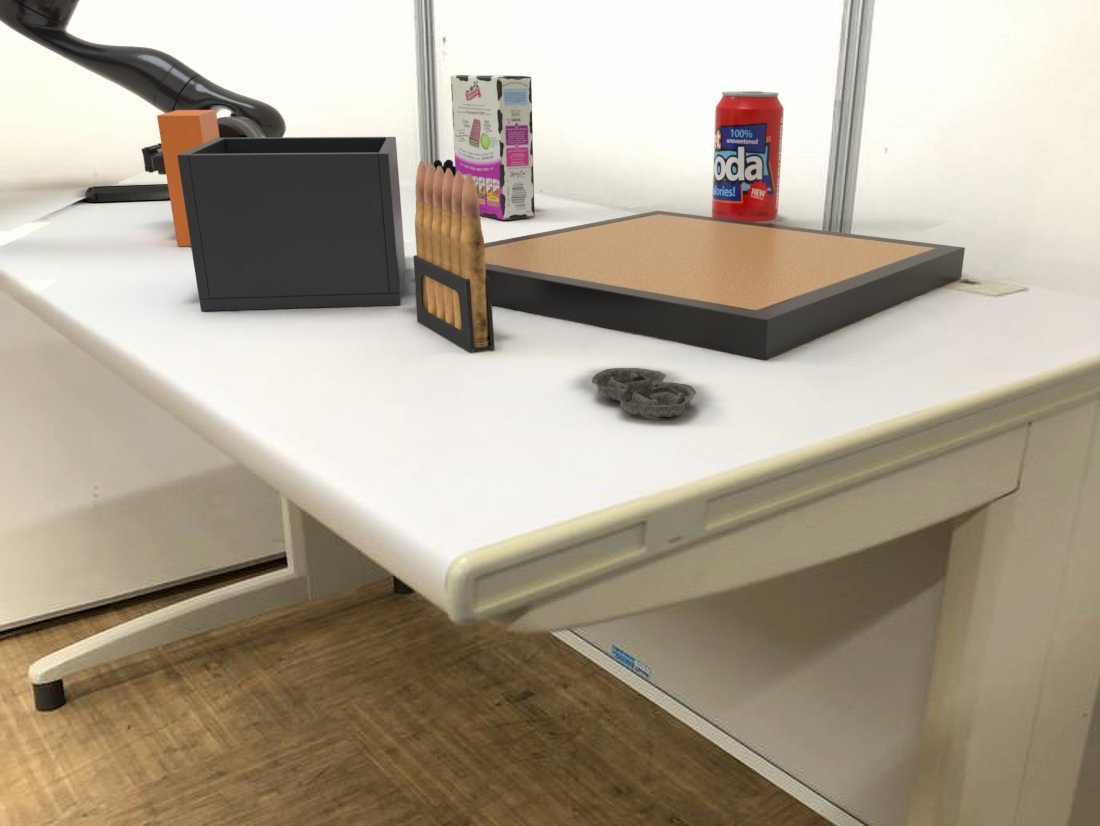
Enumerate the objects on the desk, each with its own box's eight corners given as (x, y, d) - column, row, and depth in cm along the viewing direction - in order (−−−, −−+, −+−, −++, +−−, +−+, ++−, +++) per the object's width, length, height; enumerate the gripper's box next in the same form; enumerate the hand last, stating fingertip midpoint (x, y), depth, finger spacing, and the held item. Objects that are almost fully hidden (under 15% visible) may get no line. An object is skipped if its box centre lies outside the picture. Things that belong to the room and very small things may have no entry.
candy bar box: (537, 217, 131) (533, 75, 124) (503, 221, 128) (497, 76, 121) (488, 207, 138) (482, 73, 132) (455, 210, 135) (447, 73, 129)
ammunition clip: (416, 320, 82) (404, 160, 78) (439, 318, 83) (428, 159, 78) (470, 353, 74) (461, 175, 69) (495, 349, 75) (487, 174, 70)
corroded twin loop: (644, 378, 68) (645, 362, 68) (714, 413, 62) (715, 396, 61) (575, 389, 66) (575, 373, 65) (640, 427, 59) (640, 409, 59)
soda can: (788, 223, 128) (796, 91, 122) (757, 232, 122) (764, 93, 116) (731, 217, 132) (737, 89, 126) (699, 225, 126) (703, 91, 120)
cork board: (416, 289, 92) (765, 360, 73) (414, 256, 91) (767, 319, 72) (656, 236, 118) (961, 278, 99) (657, 210, 117) (964, 247, 98)
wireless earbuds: (466, 195, 149) (465, 158, 147) (473, 197, 147) (471, 159, 145) (419, 198, 146) (416, 160, 144) (425, 200, 144) (422, 162, 142)
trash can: (200, 311, 84) (176, 155, 80) (235, 272, 99) (216, 137, 94) (400, 305, 87) (388, 153, 82) (405, 268, 101) (395, 136, 97)
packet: (177, 246, 111) (156, 115, 106) (195, 232, 119) (176, 110, 114) (217, 245, 111) (198, 115, 106) (232, 231, 119) (216, 110, 114)
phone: (89, 186, 145) (206, 182, 150) (91, 194, 145) (207, 190, 150) (84, 193, 138) (207, 189, 143) (86, 202, 139) (208, 197, 144)
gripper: (292, 180, 132) (273, 198, 118) (171, 182, 130) (137, 200, 115) (284, 117, 129) (265, 127, 115) (161, 118, 127) (125, 128, 112)
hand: (201, 164), depth 115 cm, fingers open, 8 cm apart
